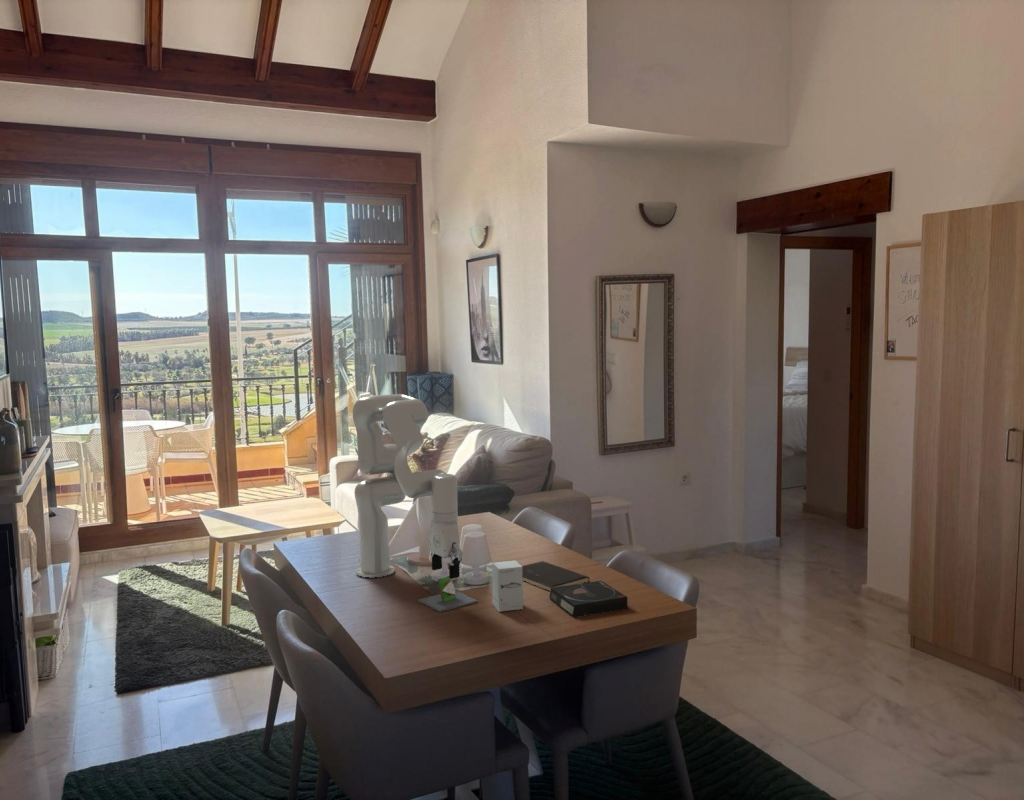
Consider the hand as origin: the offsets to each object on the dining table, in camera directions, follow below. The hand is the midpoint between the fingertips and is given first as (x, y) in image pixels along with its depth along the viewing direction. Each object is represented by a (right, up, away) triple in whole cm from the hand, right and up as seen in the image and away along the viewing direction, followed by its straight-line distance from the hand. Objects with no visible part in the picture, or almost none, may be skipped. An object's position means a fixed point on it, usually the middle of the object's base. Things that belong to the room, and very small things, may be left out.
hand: (445, 573), depth 235 cm
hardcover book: (+31, -7, +21) cm, 38 cm away
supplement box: (+18, -9, -5) cm, 21 cm away
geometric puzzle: (0, -8, 0) cm, 8 cm away
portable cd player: (+41, -9, -5) cm, 43 cm away
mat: (+1, -9, 0) cm, 8 cm away
